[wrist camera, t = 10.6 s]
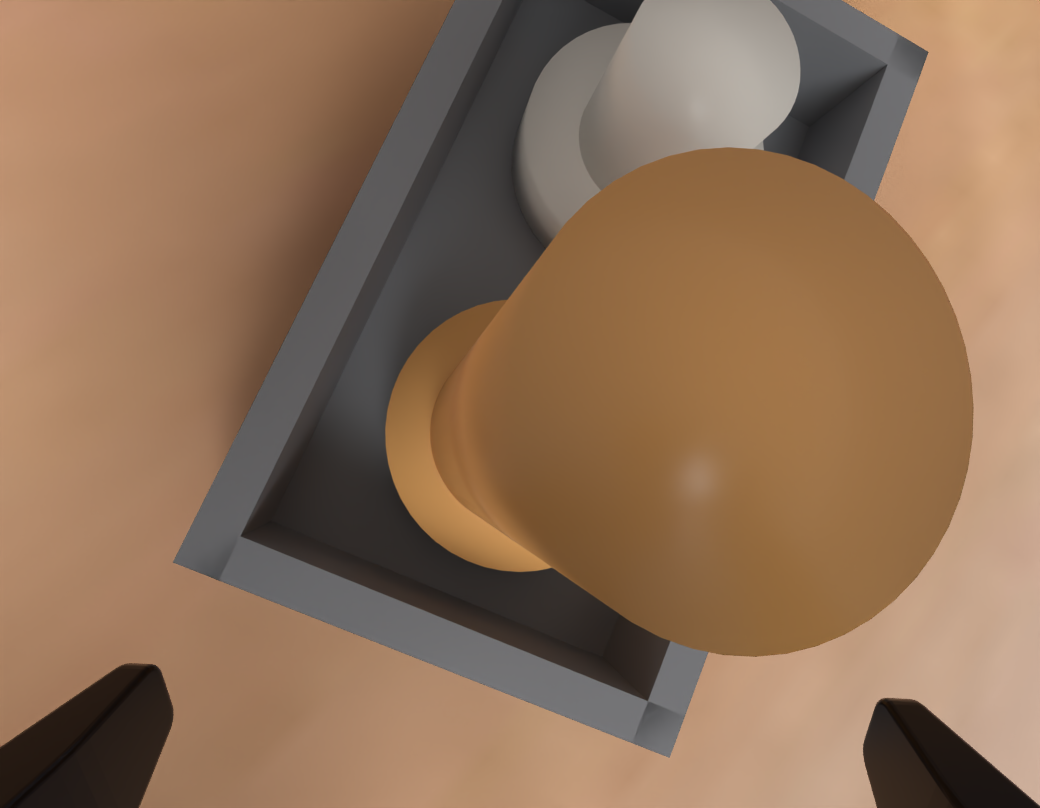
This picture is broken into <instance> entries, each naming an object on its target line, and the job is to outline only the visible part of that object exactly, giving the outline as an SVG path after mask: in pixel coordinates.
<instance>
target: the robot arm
mask: <svg viewBox="0 0 1040 808" xmlns="http://www.w3.org/2000/svg"><path fill="white" fill-rule="evenodd" d="M172 722H173V705H172V702H171V699H170V696H169V693H168V690H167V687H166V684H165V681H164V678H163V675H162V672H161V670H160V669H159V668H158V667H157V666H156V665H153V664H136V663H128V664H124V665H121V666H119V667H118V668H116V669H114V670H113V671H111V672H110V673H108V674H107V675H105V676H104V677H103V678H101V679H100V680H98V681H97V682H95V683H94V684H92V685H91V686H89V687H88V688H86V689H85V690H83V691H82V692H81V693H79V694H78V695H76V696H75V697H73V698H72V699H70V700H69V701H67V702H66V703H64V704H63V705H61V706H60V707H59V708H57V709H56V710H54V711H53V712H51V713H50V714H48V715H47V716H45V717H44V718H42V719H41V720H39V721H38V722H37V723H35V724H34V725H32V726H31V727H29V728H28V729H26V730H25V731H23V732H22V733H20V734H19V735H17V736H16V737H15V738H13V739H12V740H10V741H9V742H7V743H6V744H4V745H3V746H1V747H0V808H139V807H140V804H141V802H142V799H143V797H144V794H145V792H146V789H147V787H148V784H149V782H150V779H151V777H152V774H153V772H154V769H155V767H156V764H157V762H158V759H159V757H160V754H161V752H162V749H163V747H164V744H165V742H166V739H167V737H168V734H169V732H170V729H171V726H172ZM863 756H864V762H865V766H866V770H867V774H868V777H869V781H870V784H871V788H872V791H873V795H874V798H875V802H876V806H877V808H1040V806H1039V805H1038V804H1037V803H1036V802H1035V801H1034V800H1032V799H1031V798H1030V797H1029V796H1028V795H1027V794H1025V793H1024V792H1023V791H1022V790H1021V789H1020V788H1019V787H1017V786H1016V785H1015V784H1014V783H1013V782H1012V781H1010V780H1009V779H1008V778H1007V777H1006V776H1005V775H1004V774H1002V773H1001V772H1000V771H999V770H998V769H997V768H995V767H994V766H993V765H992V764H991V763H990V762H988V761H987V760H986V759H985V758H984V757H983V756H982V755H980V754H979V753H978V752H977V751H976V750H975V749H973V748H972V747H971V746H970V745H969V744H968V743H967V742H965V741H964V740H963V739H962V738H961V737H960V736H958V735H957V734H956V733H955V732H954V731H953V730H951V729H950V728H949V727H948V726H947V725H946V724H945V723H943V722H942V721H941V720H940V719H939V718H938V717H936V716H935V715H934V714H933V713H932V712H931V711H929V710H928V709H927V708H926V707H925V706H924V705H922V704H921V703H919V702H917V701H915V700H912V699H897V698H883V699H881V700H879V701H878V702H877V704H876V706H875V709H874V712H873V715H872V718H871V721H870V724H869V727H868V731H867V734H866V737H865V740H864V744H863Z"/></svg>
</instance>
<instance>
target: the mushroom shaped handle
mask: <svg viewBox="0 0 1040 808" xmlns="http://www.w3.org/2000/svg"><path fill="white" fill-rule="evenodd" d="M385 435H386V452H387V458H388V465H389V468H390V472H391V475H392V478H393V482H394V484H395V487H396V489H397V491H398V493H399V496H400V498H401V500H402V501H403V503H404V505H405V506H406V508H407V510H408V511H409V513H410V515H411V516H412V517H413V518H414V520H415V521H416V522H417V523H418V524H419V526H420V527H421V528H422V529H423V530H424V531H425V532H426V533H427V534H428V535H429V536H430V537H431V538H432V539H433V540H434V541H436V542H437V543H438V544H440V545H441V546H442V547H444V548H445V549H447V550H448V551H450V552H451V553H453V554H455V555H457V556H459V557H461V558H463V559H464V560H466V561H469V562H472V563H474V564H477V565H480V566H483V567H487V568H492V569H496V570H501V571H514V572H525V571H538V570H543V569H548V568H554V569H555V570H556V571H558V572H559V573H561V574H562V575H564V576H565V577H567V578H568V579H569V580H571V581H572V582H574V583H575V584H577V585H578V586H580V587H581V588H583V589H584V590H585V591H587V592H588V593H590V594H591V595H593V596H594V597H596V598H597V599H599V600H600V601H601V602H603V603H604V604H606V605H607V606H609V607H610V608H612V609H613V610H614V611H616V612H617V613H619V614H620V615H622V616H623V617H625V618H626V619H628V620H629V621H630V622H632V623H634V624H636V625H638V626H640V627H642V628H644V629H645V630H647V631H649V632H651V633H653V634H655V635H657V636H659V637H661V638H663V639H666V640H669V641H672V642H675V643H677V644H680V645H683V646H686V647H689V648H691V649H696V650H701V651H706V652H711V653H716V654H721V655H733V656H753V657H757V656H767V655H777V654H787V653H791V652H795V651H799V650H803V649H807V648H811V647H815V646H818V645H820V644H823V643H825V642H828V641H830V640H833V639H835V638H837V637H840V636H842V635H845V634H846V633H848V632H850V631H852V630H853V629H855V628H857V627H858V626H860V625H862V624H863V623H865V622H867V621H869V620H870V619H872V618H873V617H874V616H875V615H877V614H878V613H879V612H881V611H882V610H883V609H884V608H886V607H887V606H888V605H889V604H891V603H892V602H893V601H894V600H895V599H896V598H897V597H898V596H899V595H900V594H901V593H902V592H903V591H904V590H905V589H906V588H907V587H908V586H909V585H910V584H911V583H912V582H913V581H914V580H915V578H916V577H917V576H918V574H919V573H920V572H921V570H922V569H923V568H924V566H925V565H926V564H927V562H928V561H929V559H930V558H931V557H932V555H933V554H934V552H935V550H936V549H937V547H938V545H939V543H940V541H941V540H942V538H943V536H944V534H945V532H946V531H947V529H948V527H949V525H950V522H951V520H952V517H953V515H954V512H955V510H956V507H957V505H958V502H959V500H960V496H961V493H962V489H963V485H964V482H965V478H966V474H967V470H968V465H969V458H970V451H971V445H972V437H973V395H972V382H971V374H970V368H969V363H968V358H967V353H966V347H965V344H964V340H963V337H962V334H961V331H960V327H959V324H958V321H957V318H956V315H955V313H954V310H953V308H952V306H951V303H950V301H949V299H948V297H947V294H946V292H945V290H944V288H943V286H942V284H941V282H940V281H939V279H938V277H937V275H936V274H935V272H934V270H933V268H932V267H931V265H930V263H929V261H928V260H927V259H926V257H925V256H924V255H923V253H922V252H921V250H920V249H919V248H918V246H917V245H916V244H915V242H914V241H913V240H912V238H911V237H910V236H909V235H908V234H907V232H906V231H905V230H904V229H903V228H902V227H901V226H900V225H899V224H898V223H897V222H896V221H895V220H894V218H893V217H892V216H891V215H890V214H889V213H888V212H886V211H885V210H884V209H883V208H882V207H881V206H879V205H878V204H877V203H876V202H875V201H873V200H872V199H871V198H870V197H869V196H868V195H866V194H865V193H863V192H862V191H860V190H859V189H857V188H856V187H854V186H853V185H851V184H850V183H848V182H847V181H845V180H844V179H842V178H840V177H838V176H836V175H834V174H832V173H830V172H828V171H826V170H824V169H822V168H820V167H818V166H816V165H814V164H811V163H808V162H805V161H802V160H799V159H797V158H794V157H791V156H788V155H784V154H779V153H774V152H769V151H764V150H759V149H747V148H732V147H725V148H711V149H698V150H693V151H689V152H684V153H680V154H675V155H671V156H667V157H665V158H662V159H659V160H657V161H654V162H651V163H648V164H646V165H643V166H640V167H639V168H637V169H635V170H633V171H631V172H630V173H628V174H626V175H624V176H622V177H620V178H619V179H617V180H615V181H613V182H612V183H611V184H609V185H608V186H607V187H605V188H604V189H603V190H601V191H600V192H599V193H597V194H596V195H595V196H593V197H592V198H591V199H589V200H588V201H587V202H586V203H585V204H584V205H583V206H582V207H581V208H580V209H579V210H578V211H577V212H576V213H575V214H574V215H573V216H572V217H571V218H570V219H569V220H568V221H567V222H566V223H565V225H564V226H563V227H562V229H561V230H560V231H559V232H558V234H557V235H556V236H555V238H554V239H553V240H552V242H551V243H550V244H549V246H548V247H547V248H546V250H545V251H544V252H543V254H542V255H541V256H540V258H539V259H538V260H537V262H536V263H535V264H534V266H533V267H532V268H531V270H530V271H529V272H528V273H527V275H526V276H525V277H524V279H523V280H522V281H521V283H520V284H519V285H518V287H517V288H516V289H515V291H514V292H513V293H512V295H511V296H510V297H509V299H508V300H500V301H493V302H489V303H485V304H481V305H477V306H475V307H472V308H470V309H467V310H465V311H462V312H460V313H459V314H457V315H455V316H453V317H452V318H450V319H448V320H446V321H445V322H444V323H442V324H441V325H440V326H438V327H437V328H436V329H434V330H433V331H432V332H431V333H430V334H429V335H428V336H427V337H426V338H425V339H424V340H423V341H422V342H421V343H420V344H419V345H418V346H417V347H416V349H415V350H414V351H413V353H412V354H411V355H410V357H409V358H408V359H407V361H406V363H405V365H404V366H403V368H402V370H401V372H400V373H399V376H398V378H397V381H396V383H395V385H394V388H393V390H392V394H391V398H390V402H389V405H388V410H387V418H386V426H385Z"/></svg>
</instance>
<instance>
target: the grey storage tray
mask: <svg viewBox="0 0 1040 808" xmlns="http://www.w3.org/2000/svg"><path fill="white" fill-rule="evenodd" d="M927 55H928V52H927V51H926V50H924V49H922V48H921V47H919V46H917V45H916V44H914V43H912V42H911V41H909V40H907V39H906V38H904V37H902V36H901V35H899V34H897V33H896V32H894V31H892V30H891V29H889V28H887V27H885V26H884V25H882V24H880V23H879V22H877V21H875V20H874V19H872V18H870V17H869V16H867V15H865V14H864V13H862V12H860V11H859V10H857V9H855V8H854V7H852V6H850V5H849V4H847V3H845V2H843V1H842V0H455V1H454V3H453V5H452V7H451V9H450V11H449V13H448V15H447V17H446V19H445V21H444V23H443V25H442V27H441V29H440V31H439V33H438V35H437V37H436V39H435V41H434V43H433V45H432V47H431V49H430V51H429V53H428V55H427V57H426V59H425V61H424V63H423V65H422V67H421V69H420V71H419V73H418V75H417V77H416V79H415V81H414V83H413V85H412V87H411V89H410V91H409V93H408V95H407V97H406V99H405V101H404V103H403V105H402V107H401V109H400V111H399V113H398V115H397V117H396V119H395V121H394V123H393V125H392V127H391V129H390V131H389V133H388V135H387V137H386V139H385V141H384V143H383V145H382V147H381V149H380V151H379V153H378V155H377V157H376V159H375V161H374V163H373V165H372V167H371V169H370V171H369V173H368V175H367V177H366V179H365V181H364V183H363V185H362V187H361V189H360V191H359V193H358V195H357V197H356V199H355V201H354V203H353V205H352V207H351V209H350V211H349V213H348V215H347V217H346V219H345V221H344V223H343V225H342V227H341V229H340V231H339V233H338V235H337V237H336V239H335V241H334V243H333V245H332V246H331V248H330V250H329V252H328V254H327V256H326V258H325V260H324V262H323V264H322V266H321V268H320V270H319V272H318V274H317V276H316V278H315V280H314V282H313V284H312V286H311V288H310V290H309V292H308V294H307V296H306V298H305V300H304V302H303V304H302V306H301V308H300V310H299V312H298V314H297V316H296V318H295V320H294V322H293V324H292V326H291V328H290V330H289V332H288V334H287V336H286V338H285V340H284V342H283V344H282V346H281V348H280V350H279V352H278V354H277V356H276V358H275V360H274V362H273V364H272V366H271V368H270V370H269V372H268V374H267V376H266V378H265V380H264V382H263V384H262V386H261V388H260V390H259V392H258V394H257V396H256V398H255V400H254V402H253V404H252V406H251V408H250V410H249V412H248V414H247V416H246V418H245V420H244V422H243V424H242V426H241V428H240V430H239V432H238V434H237V436H236V438H235V440H234V442H233V444H232V446H231V448H230V450H229V452H228V454H227V456H226V458H225V460H224V462H223V464H222V466H221V468H220V470H219V472H218V474H217V476H216V478H215V480H214V482H213V484H212V486H211V488H210V490H209V492H208V494H207V496H206V498H205V499H204V501H203V503H202V505H201V507H200V509H199V511H198V513H197V515H196V517H195V519H194V521H193V523H192V525H191V527H190V529H189V531H188V533H187V535H186V537H185V539H184V541H183V543H182V545H181V547H180V549H179V551H178V553H177V555H176V557H175V559H174V561H173V563H176V564H178V565H181V566H183V567H186V568H189V569H191V570H194V571H196V572H199V573H201V574H204V575H206V576H209V577H211V578H214V579H216V580H219V581H222V582H224V583H227V584H229V585H232V586H234V587H237V588H239V589H242V590H244V591H247V592H250V593H252V594H255V595H257V596H260V597H262V598H265V599H267V600H270V601H272V602H275V603H277V604H280V605H283V606H285V607H288V608H290V609H293V610H295V611H298V612H300V613H303V614H305V615H308V616H311V617H313V618H316V619H318V620H321V621H323V622H326V623H328V624H331V625H333V626H336V627H338V628H341V629H344V630H346V631H349V632H351V633H354V634H356V635H359V636H361V637H364V638H366V639H369V640H372V641H374V642H377V643H379V644H382V645H384V646H387V647H389V648H392V649H394V650H397V651H399V652H402V653H405V654H407V655H410V656H412V657H415V658H417V659H420V660H422V661H425V662H427V663H430V664H433V665H435V666H438V667H440V668H443V669H445V670H448V671H450V672H453V673H455V674H458V675H460V676H463V677H466V678H468V679H471V680H473V681H476V682H478V683H481V684H483V685H486V686H488V687H491V688H494V689H496V690H499V691H501V692H504V693H506V694H509V695H511V696H514V697H516V698H519V699H521V700H524V701H527V702H529V703H532V704H534V705H537V706H539V707H542V708H544V709H547V710H549V711H552V712H554V713H557V714H560V715H562V716H565V717H567V718H570V719H572V720H575V721H577V722H580V723H582V724H585V725H588V726H590V727H593V728H595V729H598V730H600V731H603V732H605V733H608V734H610V735H613V736H615V737H618V738H621V739H623V740H626V741H628V742H631V743H633V744H636V745H638V746H641V747H643V748H646V749H649V750H651V751H654V752H656V753H659V754H661V755H664V756H666V757H669V758H670V755H671V752H672V750H673V747H674V744H675V742H676V739H677V736H678V733H679V731H680V728H681V725H682V722H683V720H684V717H685V714H686V712H687V709H688V706H689V703H690V701H691V698H692V695H693V692H694V690H695V687H696V684H697V682H698V679H699V676H700V673H701V671H702V668H703V665H704V662H705V660H706V657H707V654H708V652H706V651H701V650H696V649H691V648H689V647H686V646H683V645H680V644H677V643H675V642H672V641H669V640H666V639H663V638H661V637H659V636H657V635H655V634H653V633H651V632H649V631H647V630H645V629H644V628H642V627H640V626H638V625H636V624H634V623H632V622H630V621H629V620H628V619H626V618H625V617H623V616H622V615H620V614H619V613H617V612H616V611H614V610H613V609H612V608H610V607H609V606H607V605H606V604H604V603H603V602H601V601H600V600H599V599H597V598H596V597H594V596H593V595H591V594H590V593H588V592H587V591H585V590H584V589H583V588H581V587H580V586H578V585H577V584H575V583H574V582H572V581H571V580H569V579H568V578H567V577H565V576H564V575H562V574H561V573H559V572H558V571H556V570H555V569H554V568H548V569H543V570H538V571H525V572H514V571H501V570H496V569H492V568H487V567H483V566H480V565H477V564H474V563H472V562H469V561H466V560H464V559H463V558H461V557H459V556H457V555H455V554H453V553H451V552H450V551H448V550H447V549H445V548H444V547H442V546H441V545H440V544H438V543H437V542H436V541H434V540H433V539H432V538H431V537H430V536H429V535H428V534H427V533H426V532H425V531H424V530H423V529H422V528H421V527H420V526H419V524H418V523H417V522H416V521H415V520H414V518H413V517H412V516H411V515H410V513H409V511H408V510H407V508H406V506H405V505H404V503H403V501H402V500H401V498H400V496H399V493H398V491H397V489H396V487H395V484H394V482H393V478H392V475H391V472H390V468H389V465H388V458H387V452H386V435H385V426H386V418H387V410H388V405H389V402H390V398H391V394H392V390H393V388H394V385H395V383H396V381H397V378H398V376H399V373H400V372H401V370H402V368H403V366H404V365H405V363H406V361H407V359H408V358H409V357H410V355H411V354H412V353H413V351H414V350H415V349H416V347H417V346H418V345H419V344H420V343H421V342H422V341H423V340H424V339H425V338H426V337H427V336H428V335H429V334H430V333H431V332H432V331H433V330H434V329H436V328H437V327H438V326H440V325H441V324H442V323H444V322H445V321H446V320H448V319H450V318H452V317H453V316H455V315H457V314H459V313H460V312H462V311H465V310H467V309H470V308H472V307H475V306H477V305H481V304H485V303H489V302H493V301H500V300H508V299H509V297H510V296H511V295H512V293H513V292H514V291H515V289H516V288H517V287H518V285H519V284H520V283H521V281H522V280H523V279H524V277H525V276H526V275H527V273H528V272H529V271H530V270H531V268H532V267H533V266H534V264H535V263H536V262H537V260H538V259H539V258H540V256H541V255H542V254H543V252H544V251H545V250H546V248H547V247H548V246H549V244H550V243H551V242H552V240H553V239H554V238H555V236H556V235H557V234H558V232H559V231H560V230H561V229H562V227H563V226H564V225H565V223H566V222H567V221H568V220H569V219H570V218H571V217H572V216H573V215H574V214H575V213H576V212H577V211H578V210H579V209H580V208H581V207H582V206H583V205H584V204H585V203H586V202H587V201H588V200H589V199H591V198H592V197H593V196H595V195H596V194H597V193H599V192H600V191H601V190H603V189H604V188H605V187H607V186H608V185H609V184H611V183H612V182H613V181H615V180H617V179H619V178H620V177H622V176H624V175H626V174H628V173H630V172H631V171H633V170H635V169H637V168H639V167H640V166H643V165H646V164H648V163H651V162H654V161H657V160H659V159H662V158H665V157H667V156H671V155H675V154H680V153H684V152H689V151H693V150H698V149H711V148H725V147H732V148H747V149H759V150H764V151H769V152H774V153H779V154H784V155H788V156H791V157H794V158H797V159H799V160H802V161H805V162H808V163H811V164H814V165H816V166H818V167H820V168H822V169H824V170H826V171H828V172H830V173H832V174H834V175H836V176H838V177H840V178H842V179H844V180H845V181H847V182H848V183H850V184H851V185H853V186H854V187H856V188H857V189H859V190H860V191H862V192H863V193H865V194H866V195H868V196H869V197H870V198H871V199H872V200H873V201H874V199H875V196H876V194H877V191H878V188H879V186H880V183H881V180H882V177H883V175H884V172H885V169H886V166H887V164H888V161H889V158H890V156H891V153H892V150H893V147H894V145H895V142H896V139H897V136H898V134H899V131H900V128H901V126H902V123H903V120H904V117H905V115H906V112H907V109H908V106H909V104H910V101H911V98H912V96H913V93H914V90H915V87H916V85H917V82H918V79H919V77H920V74H921V71H922V68H923V66H924V63H925V60H926V57H927Z"/></svg>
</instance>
